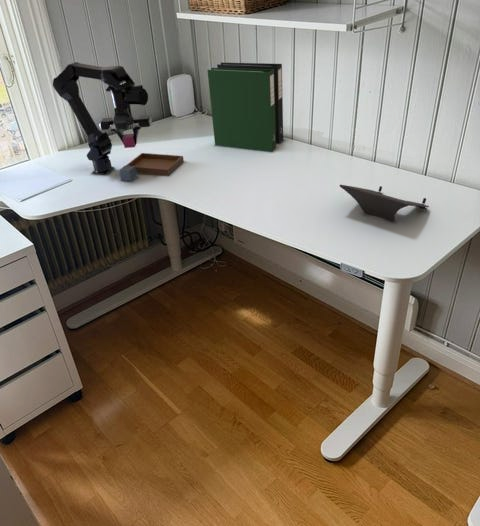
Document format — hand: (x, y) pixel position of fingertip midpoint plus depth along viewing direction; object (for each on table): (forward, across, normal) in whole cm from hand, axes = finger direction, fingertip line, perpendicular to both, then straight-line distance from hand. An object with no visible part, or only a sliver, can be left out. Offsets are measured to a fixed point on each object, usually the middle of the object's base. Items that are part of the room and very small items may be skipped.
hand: (130, 144), depth 186 cm
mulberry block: (0, 0, 0) cm, 0 cm away
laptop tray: (+14, +89, -40) cm, 99 cm away
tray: (+13, +6, +8) cm, 16 cm away
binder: (+13, +45, +28) cm, 55 cm away
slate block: (+13, -3, -2) cm, 13 cm away
